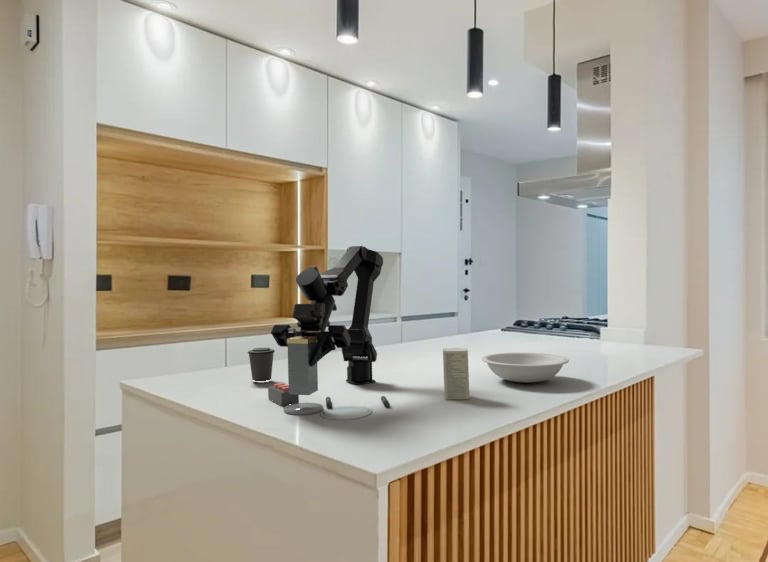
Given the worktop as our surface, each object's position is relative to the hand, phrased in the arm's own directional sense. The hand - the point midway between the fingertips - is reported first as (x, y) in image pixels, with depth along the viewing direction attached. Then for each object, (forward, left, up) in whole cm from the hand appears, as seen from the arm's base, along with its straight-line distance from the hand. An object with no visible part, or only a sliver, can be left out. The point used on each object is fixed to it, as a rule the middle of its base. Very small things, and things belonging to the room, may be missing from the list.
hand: (300, 364), depth 120 cm
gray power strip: (0, -12, -11) cm, 16 cm away
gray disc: (-1, -1, -11) cm, 11 cm away
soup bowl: (-66, +7, -11) cm, 67 cm away
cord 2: (-19, +6, -11) cm, 23 cm away
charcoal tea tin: (-1, -1, -7) cm, 7 cm away
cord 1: (-8, -2, -11) cm, 13 cm away
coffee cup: (-5, -40, -11) cm, 42 cm away
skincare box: (-37, +11, -11) cm, 40 cm away
